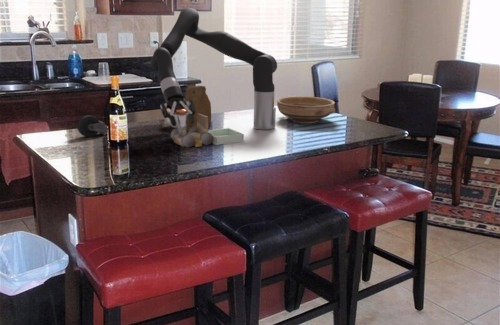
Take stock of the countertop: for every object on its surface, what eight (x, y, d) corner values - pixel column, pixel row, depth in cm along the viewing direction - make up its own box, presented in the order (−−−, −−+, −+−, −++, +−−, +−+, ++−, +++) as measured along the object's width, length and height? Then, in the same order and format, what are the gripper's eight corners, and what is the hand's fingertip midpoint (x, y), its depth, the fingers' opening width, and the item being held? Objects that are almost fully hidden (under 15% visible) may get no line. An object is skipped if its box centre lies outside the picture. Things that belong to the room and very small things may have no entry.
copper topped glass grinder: (185, 134, 208) (184, 108, 205) (190, 137, 204) (189, 110, 201) (174, 135, 206) (173, 109, 203) (179, 138, 202) (178, 111, 199)
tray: (228, 134, 222) (228, 127, 221) (243, 141, 211) (243, 134, 210) (201, 138, 216) (201, 131, 215) (215, 144, 205) (215, 137, 204)
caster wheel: (83, 141, 211) (116, 133, 220) (79, 119, 208) (112, 111, 217) (77, 139, 215) (110, 130, 224) (73, 117, 212) (106, 109, 221)
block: (190, 133, 224) (189, 88, 218) (184, 129, 230) (183, 85, 225) (212, 131, 229) (212, 86, 223) (206, 127, 235) (206, 84, 229)
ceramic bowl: (352, 124, 247) (354, 104, 244) (308, 131, 231) (309, 109, 228) (302, 112, 275) (302, 93, 273) (260, 117, 259) (260, 98, 256)
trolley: (199, 137, 217) (198, 112, 213) (213, 144, 205) (213, 117, 202) (170, 140, 210) (170, 114, 207) (183, 148, 199) (183, 120, 196)
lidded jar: (191, 124, 242) (190, 104, 239) (187, 129, 232) (187, 108, 229) (168, 123, 242) (168, 104, 240) (164, 128, 232) (163, 108, 229)
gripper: (185, 95, 215) (197, 127, 209) (153, 97, 208) (164, 131, 202) (190, 84, 209) (202, 117, 203) (157, 86, 202) (169, 120, 196)
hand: (183, 124), depth 202 cm, fingers open, 7 cm apart
